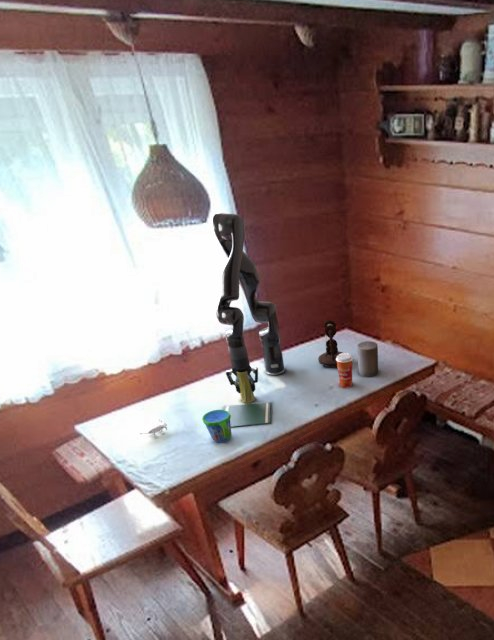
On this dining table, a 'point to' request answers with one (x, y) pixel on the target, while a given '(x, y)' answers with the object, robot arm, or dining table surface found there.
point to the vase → (245, 388)
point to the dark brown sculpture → (330, 346)
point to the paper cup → (345, 369)
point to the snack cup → (218, 425)
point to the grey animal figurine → (157, 428)
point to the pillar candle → (368, 358)
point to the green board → (249, 414)
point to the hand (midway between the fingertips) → (246, 391)
